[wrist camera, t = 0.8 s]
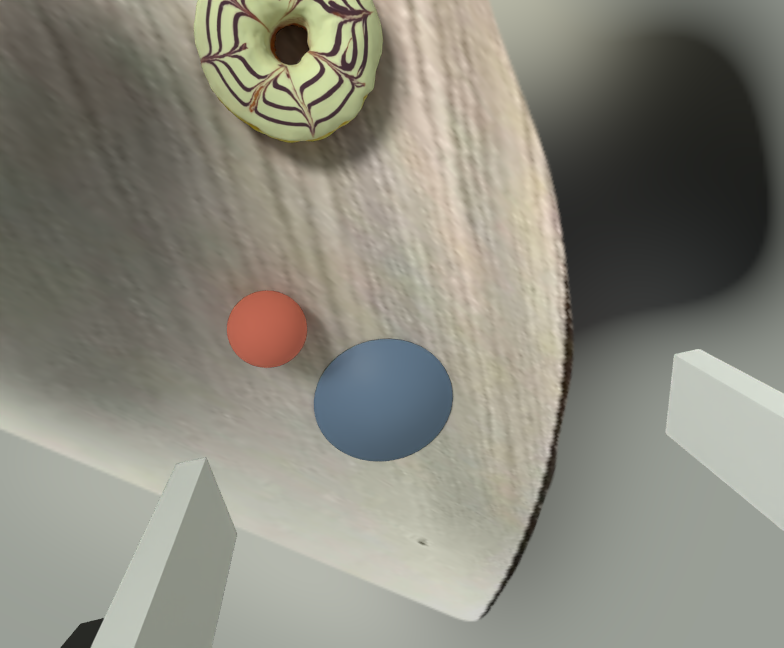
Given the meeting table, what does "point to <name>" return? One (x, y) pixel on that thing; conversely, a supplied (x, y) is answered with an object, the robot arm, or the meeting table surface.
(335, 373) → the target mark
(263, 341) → the ball
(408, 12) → the meeting table surface
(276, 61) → the decorated donut
